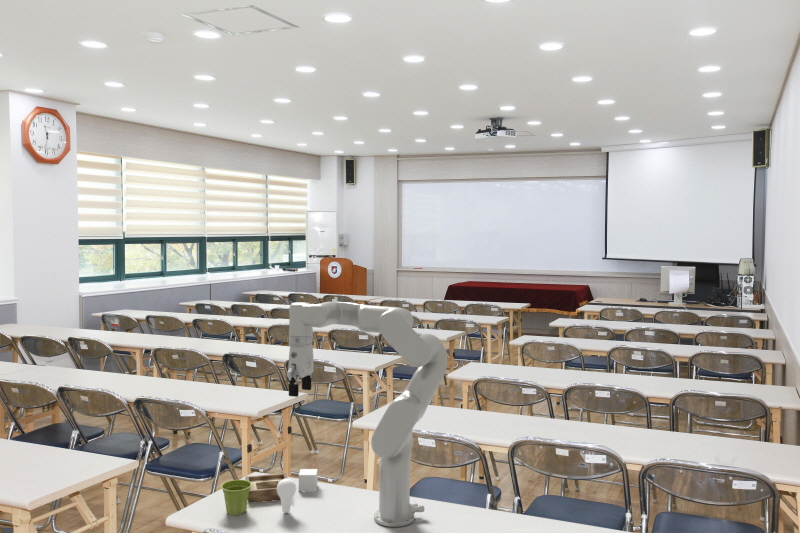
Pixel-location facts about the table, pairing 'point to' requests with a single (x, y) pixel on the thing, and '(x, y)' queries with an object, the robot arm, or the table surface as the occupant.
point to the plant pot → (236, 496)
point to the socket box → (264, 487)
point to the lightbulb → (286, 493)
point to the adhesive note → (308, 480)
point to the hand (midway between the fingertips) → (300, 392)
